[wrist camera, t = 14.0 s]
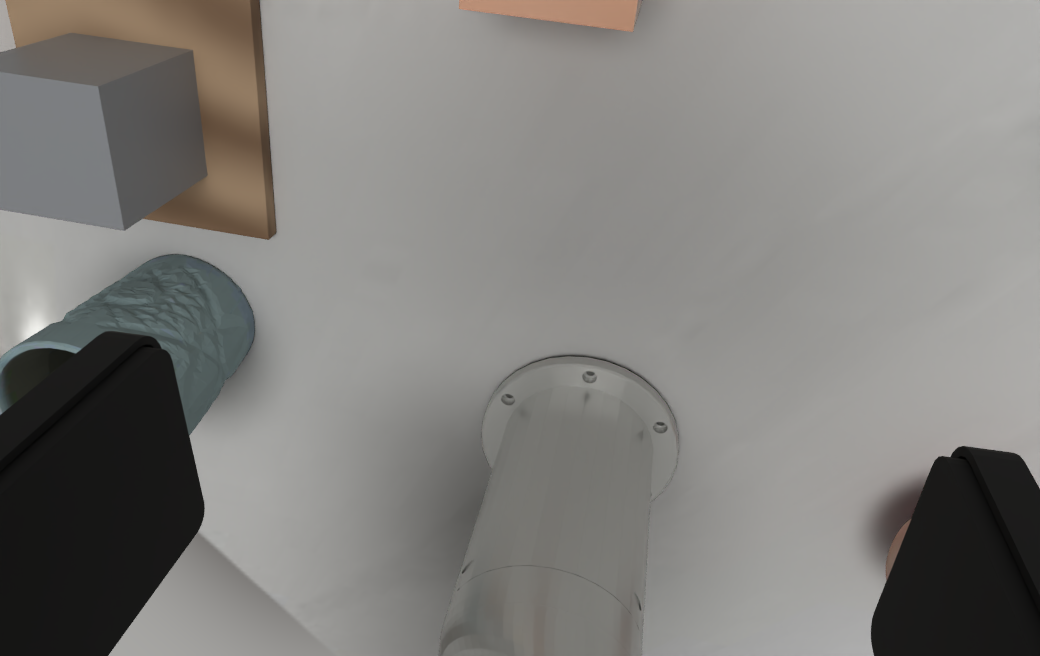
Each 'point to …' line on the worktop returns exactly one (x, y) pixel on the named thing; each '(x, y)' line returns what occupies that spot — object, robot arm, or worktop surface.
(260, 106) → the walnut pad
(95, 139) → the matte grey cuboid
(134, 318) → the teal textured cup
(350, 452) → the worktop surface
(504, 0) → the salmon pink cube
